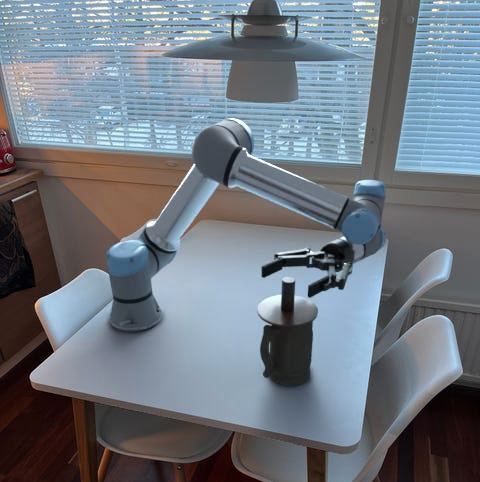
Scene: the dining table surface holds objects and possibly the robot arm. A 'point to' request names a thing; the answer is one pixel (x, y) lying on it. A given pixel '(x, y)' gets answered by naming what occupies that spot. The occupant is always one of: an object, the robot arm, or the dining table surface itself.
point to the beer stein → (287, 353)
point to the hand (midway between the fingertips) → (284, 281)
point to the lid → (287, 307)
